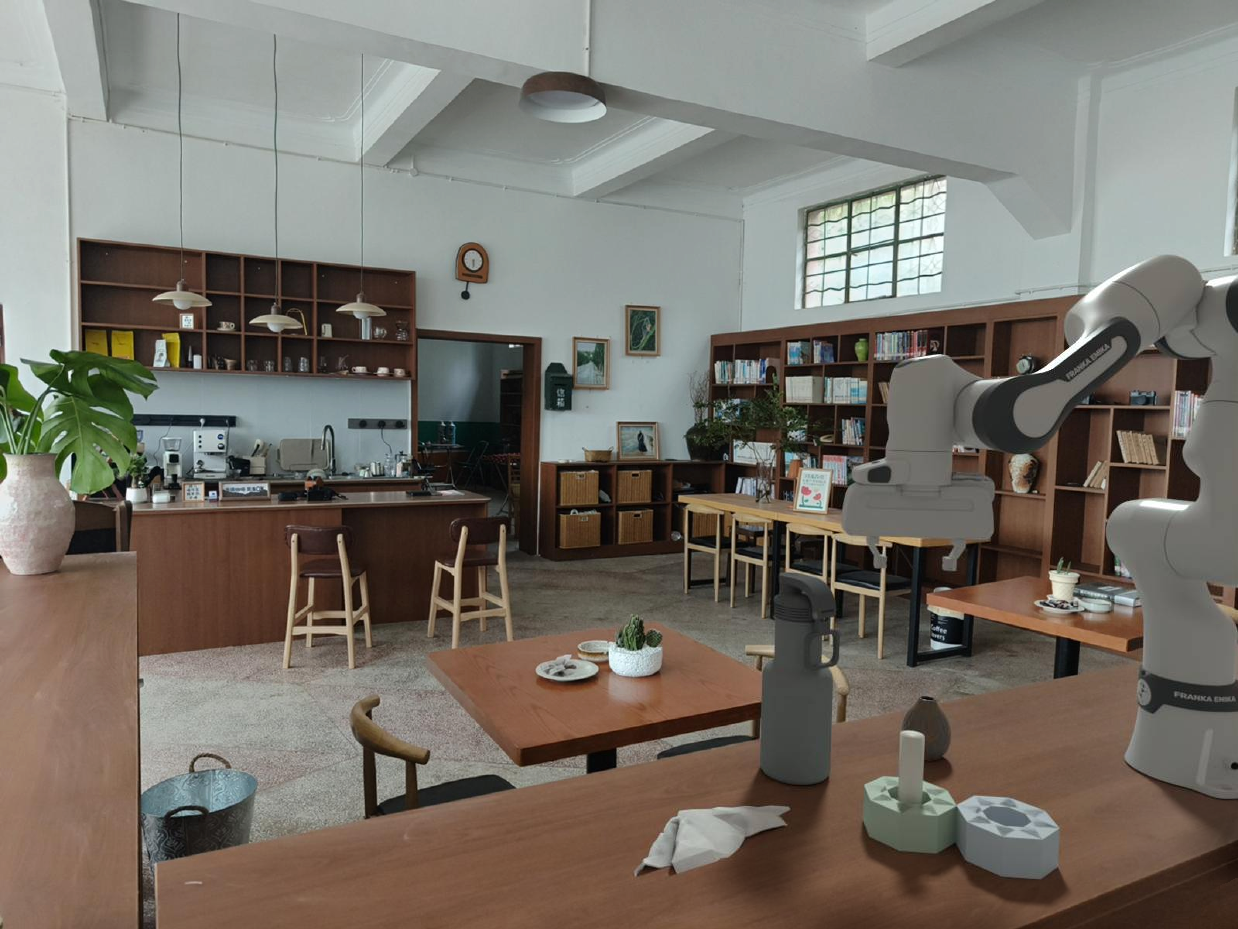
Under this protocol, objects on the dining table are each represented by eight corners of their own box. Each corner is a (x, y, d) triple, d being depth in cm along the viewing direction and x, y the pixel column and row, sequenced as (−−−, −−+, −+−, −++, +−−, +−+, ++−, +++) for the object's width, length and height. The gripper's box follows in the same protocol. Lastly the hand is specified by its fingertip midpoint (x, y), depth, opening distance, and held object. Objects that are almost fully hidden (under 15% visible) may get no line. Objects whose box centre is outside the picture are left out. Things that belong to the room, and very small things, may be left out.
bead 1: (939, 814, 105) (940, 779, 105) (962, 855, 95) (964, 817, 95) (858, 808, 106) (859, 774, 106) (873, 849, 96) (874, 811, 96)
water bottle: (847, 778, 115) (853, 580, 114) (795, 794, 110) (801, 587, 109) (795, 752, 124) (800, 568, 122) (745, 766, 119) (750, 573, 117)
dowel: (917, 826, 102) (921, 731, 101) (923, 837, 99) (927, 740, 99) (894, 824, 102) (897, 730, 102) (899, 836, 100) (903, 738, 99)
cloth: (766, 795, 111) (766, 778, 111) (835, 842, 99) (836, 824, 99) (590, 837, 100) (591, 819, 100) (645, 897, 87) (645, 876, 87)
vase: (954, 767, 120) (956, 707, 119) (904, 762, 121) (906, 703, 121) (945, 748, 126) (947, 692, 126) (898, 744, 128) (900, 688, 127)
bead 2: (1033, 835, 100) (1035, 799, 100) (1069, 881, 90) (1071, 841, 90) (947, 829, 101) (949, 794, 101) (973, 874, 91) (975, 835, 91)
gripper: (987, 471, 118) (983, 567, 119) (841, 468, 120) (838, 562, 121) (1003, 474, 111) (999, 576, 112) (848, 471, 114) (844, 570, 115)
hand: (914, 569), depth 117 cm, fingers open, 8 cm apart
